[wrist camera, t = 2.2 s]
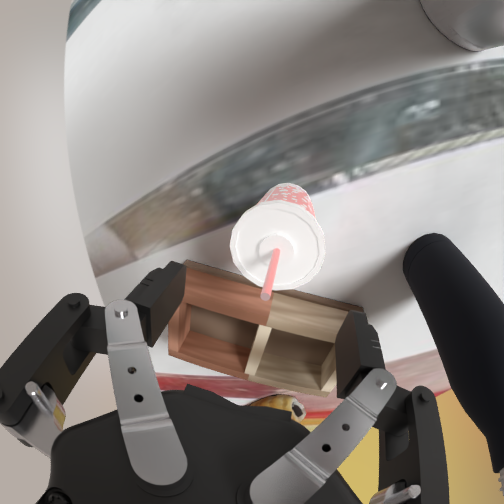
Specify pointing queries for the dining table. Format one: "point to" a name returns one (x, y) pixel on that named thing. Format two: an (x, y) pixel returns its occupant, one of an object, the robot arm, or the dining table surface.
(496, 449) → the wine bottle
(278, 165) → the dining table surface
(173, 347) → the cup holder
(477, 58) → the dining table surface
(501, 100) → the dining table surface
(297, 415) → the pastry
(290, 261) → the beverage cup
